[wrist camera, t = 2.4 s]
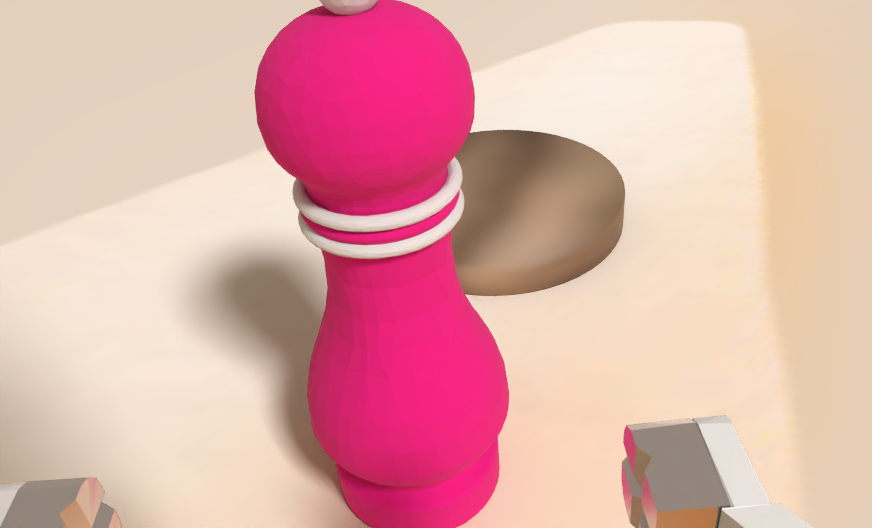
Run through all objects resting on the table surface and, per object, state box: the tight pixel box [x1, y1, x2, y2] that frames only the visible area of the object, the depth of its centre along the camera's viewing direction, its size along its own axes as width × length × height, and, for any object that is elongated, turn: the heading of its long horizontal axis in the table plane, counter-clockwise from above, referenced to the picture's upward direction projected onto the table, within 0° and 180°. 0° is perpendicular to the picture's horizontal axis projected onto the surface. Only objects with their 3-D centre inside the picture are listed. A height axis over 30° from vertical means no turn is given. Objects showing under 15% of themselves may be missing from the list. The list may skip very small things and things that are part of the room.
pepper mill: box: [255, 0, 509, 528], centre depth 25 cm, size 7×7×20 cm
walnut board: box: [452, 130, 625, 296], centre depth 44 cm, size 14×14×2 cm
